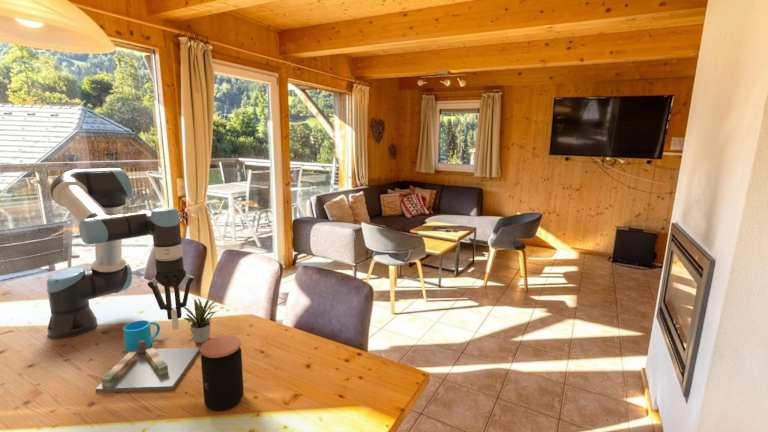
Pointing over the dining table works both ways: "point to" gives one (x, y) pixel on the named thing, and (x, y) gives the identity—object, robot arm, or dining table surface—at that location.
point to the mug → (138, 334)
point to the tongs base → (123, 365)
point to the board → (154, 372)
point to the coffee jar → (222, 372)
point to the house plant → (200, 321)
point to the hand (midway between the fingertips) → (175, 327)
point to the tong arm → (156, 361)
